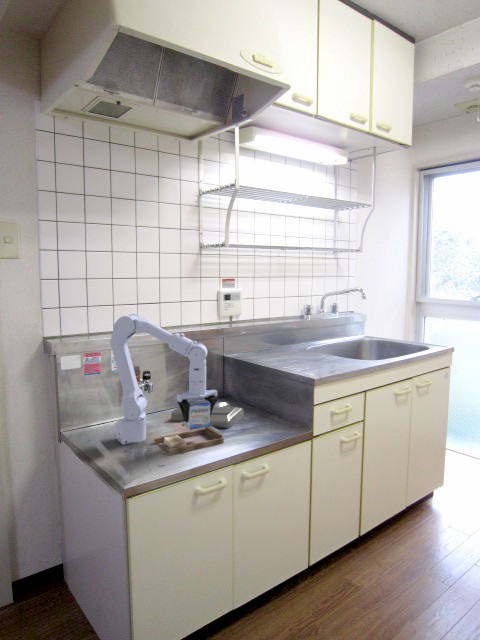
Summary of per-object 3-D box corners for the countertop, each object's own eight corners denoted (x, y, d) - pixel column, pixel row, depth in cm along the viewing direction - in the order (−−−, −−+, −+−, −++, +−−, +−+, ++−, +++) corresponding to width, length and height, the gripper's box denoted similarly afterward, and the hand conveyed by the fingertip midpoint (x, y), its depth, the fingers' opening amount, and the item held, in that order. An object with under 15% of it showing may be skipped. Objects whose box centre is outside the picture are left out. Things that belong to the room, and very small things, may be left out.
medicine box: (189, 430, 144) (189, 404, 143) (183, 426, 148) (183, 401, 147) (210, 426, 148) (210, 401, 147) (204, 422, 152) (204, 398, 151)
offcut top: (172, 450, 139) (172, 444, 139) (163, 443, 145) (163, 437, 145) (186, 447, 142) (186, 441, 142) (177, 440, 148) (177, 435, 148)
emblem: (194, 423, 156) (162, 403, 179) (194, 437, 157) (162, 415, 179) (256, 410, 172) (219, 394, 195) (256, 424, 173) (219, 405, 195)
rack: (169, 459, 136) (169, 447, 136) (154, 446, 146) (154, 435, 146) (223, 447, 147) (223, 435, 147) (206, 435, 157) (206, 425, 157)
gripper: (183, 385, 139) (183, 426, 140) (222, 380, 147) (221, 419, 148) (174, 380, 145) (173, 420, 146) (211, 375, 153) (211, 413, 154)
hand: (197, 419), depth 147 cm, fingers closed on medicine box, 7 cm apart
